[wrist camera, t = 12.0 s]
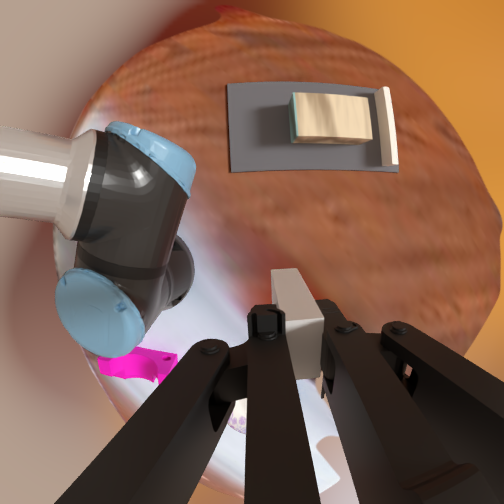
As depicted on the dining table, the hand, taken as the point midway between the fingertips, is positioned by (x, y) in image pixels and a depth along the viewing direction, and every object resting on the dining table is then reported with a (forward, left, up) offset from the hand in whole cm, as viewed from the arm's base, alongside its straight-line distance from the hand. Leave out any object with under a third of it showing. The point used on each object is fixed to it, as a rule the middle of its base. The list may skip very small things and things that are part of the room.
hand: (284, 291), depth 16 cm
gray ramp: (+10, +17, -30) cm, 36 cm away
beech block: (+5, +17, -27) cm, 32 cm away
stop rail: (+22, +17, -30) cm, 41 cm away
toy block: (-26, -26, -31) cm, 48 cm away
